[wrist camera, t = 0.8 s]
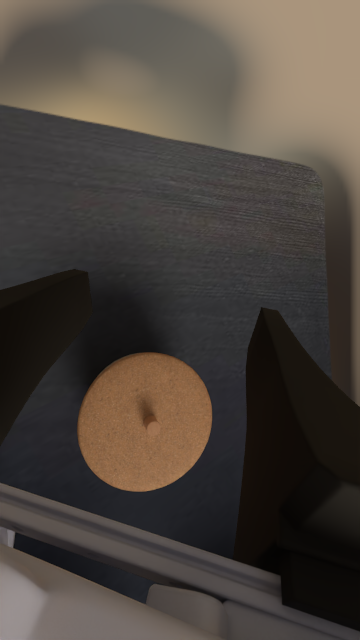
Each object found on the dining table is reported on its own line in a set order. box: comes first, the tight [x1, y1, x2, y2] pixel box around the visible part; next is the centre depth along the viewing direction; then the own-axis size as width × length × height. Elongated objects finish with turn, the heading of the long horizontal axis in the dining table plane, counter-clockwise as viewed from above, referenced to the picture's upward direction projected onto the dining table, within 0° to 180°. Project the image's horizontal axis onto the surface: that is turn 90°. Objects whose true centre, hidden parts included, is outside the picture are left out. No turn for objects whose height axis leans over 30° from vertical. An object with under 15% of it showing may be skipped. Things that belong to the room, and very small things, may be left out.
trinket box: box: [77, 352, 212, 491], centre depth 24 cm, size 11×11×9 cm
